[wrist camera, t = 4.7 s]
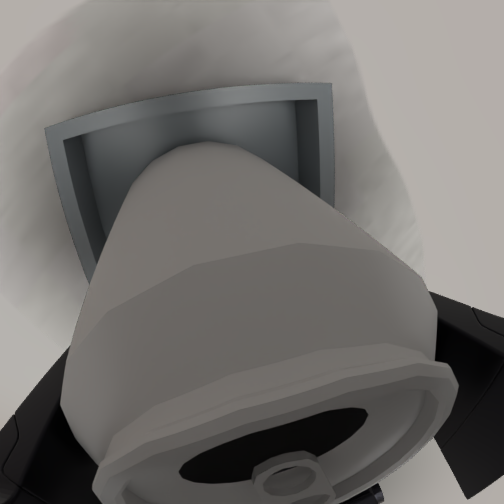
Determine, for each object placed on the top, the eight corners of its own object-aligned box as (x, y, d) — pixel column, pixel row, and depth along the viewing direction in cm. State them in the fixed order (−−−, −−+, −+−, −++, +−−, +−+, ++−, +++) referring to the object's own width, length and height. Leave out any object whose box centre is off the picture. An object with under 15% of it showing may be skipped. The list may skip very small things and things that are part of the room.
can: (262, 117, 12) (553, 219, 2) (296, 260, 16) (438, 460, 6) (97, 176, 12) (-64, 435, 1) (162, 309, 16) (187, 550, 5)
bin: (308, 280, 19) (329, 308, 16) (124, 317, 17) (120, 353, 14) (303, 85, 13) (331, 83, 11) (68, 122, 11) (44, 128, 9)
